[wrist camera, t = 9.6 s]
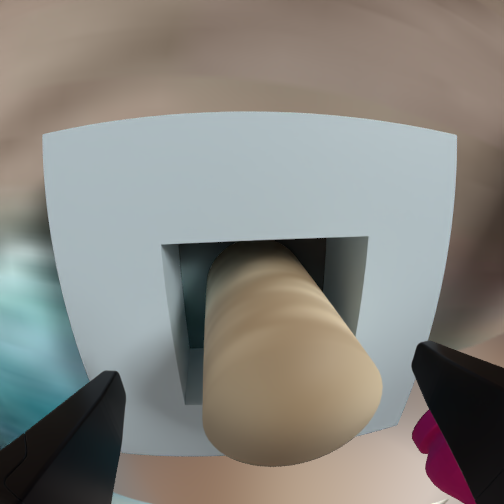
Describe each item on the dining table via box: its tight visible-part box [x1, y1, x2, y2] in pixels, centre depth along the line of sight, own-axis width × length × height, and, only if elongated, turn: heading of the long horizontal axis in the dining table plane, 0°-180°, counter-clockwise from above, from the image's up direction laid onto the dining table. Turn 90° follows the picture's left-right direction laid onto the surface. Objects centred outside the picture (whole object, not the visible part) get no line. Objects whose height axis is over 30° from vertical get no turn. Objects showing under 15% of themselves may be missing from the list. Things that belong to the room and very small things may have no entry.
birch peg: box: [202, 240, 383, 467], centre depth 10 cm, size 4×4×8 cm
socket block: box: [43, 112, 457, 456], centre depth 12 cm, size 14×14×4 cm
